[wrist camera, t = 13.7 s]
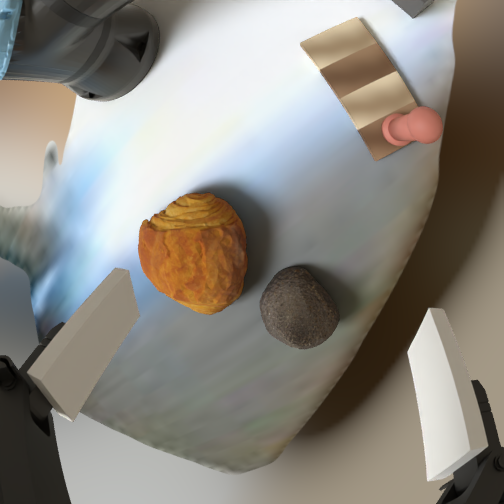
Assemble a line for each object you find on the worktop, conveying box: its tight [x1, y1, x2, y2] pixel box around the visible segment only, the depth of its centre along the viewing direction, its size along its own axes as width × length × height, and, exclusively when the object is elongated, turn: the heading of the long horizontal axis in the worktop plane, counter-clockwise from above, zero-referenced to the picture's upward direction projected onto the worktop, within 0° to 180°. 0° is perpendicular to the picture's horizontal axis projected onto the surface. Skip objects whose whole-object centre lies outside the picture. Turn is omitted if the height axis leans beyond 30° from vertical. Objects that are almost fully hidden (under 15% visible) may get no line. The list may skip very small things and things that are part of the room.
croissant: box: [138, 193, 248, 315], centre depth 36 cm, size 14×16×8 cm
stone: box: [260, 267, 340, 349], centre depth 37 cm, size 10×8×10 cm
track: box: [300, 17, 418, 161], centre depth 28 cm, size 16×8×1 cm, turn 33°
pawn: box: [381, 106, 443, 146], centre depth 24 cm, size 4×4×11 cm
